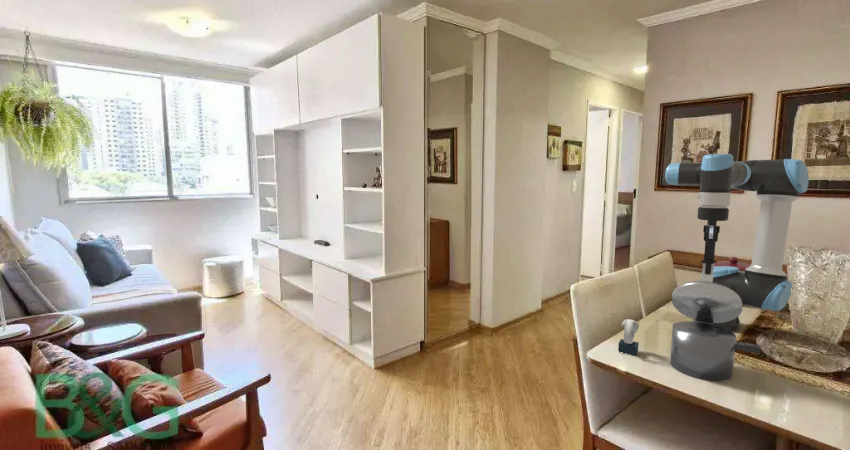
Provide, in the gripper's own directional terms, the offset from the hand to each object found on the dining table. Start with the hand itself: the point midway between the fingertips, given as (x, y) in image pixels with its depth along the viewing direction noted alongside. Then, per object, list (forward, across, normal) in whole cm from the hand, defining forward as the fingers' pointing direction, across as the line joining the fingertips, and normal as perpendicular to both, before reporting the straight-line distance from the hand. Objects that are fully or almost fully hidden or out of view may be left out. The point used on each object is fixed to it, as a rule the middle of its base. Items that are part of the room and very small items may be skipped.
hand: (706, 284), depth 123 cm
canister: (+26, -84, +9) cm, 89 cm away
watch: (+27, +1, -20) cm, 33 cm away
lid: (+7, -2, 0) cm, 7 cm away
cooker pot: (+26, +1, +3) cm, 26 cm away
